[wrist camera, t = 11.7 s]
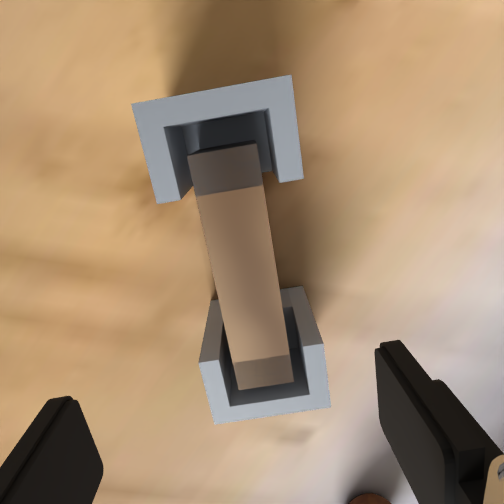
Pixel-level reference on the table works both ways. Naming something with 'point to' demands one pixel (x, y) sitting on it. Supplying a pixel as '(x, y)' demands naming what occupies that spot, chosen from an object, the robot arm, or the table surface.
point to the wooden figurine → (369, 499)
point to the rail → (242, 261)
